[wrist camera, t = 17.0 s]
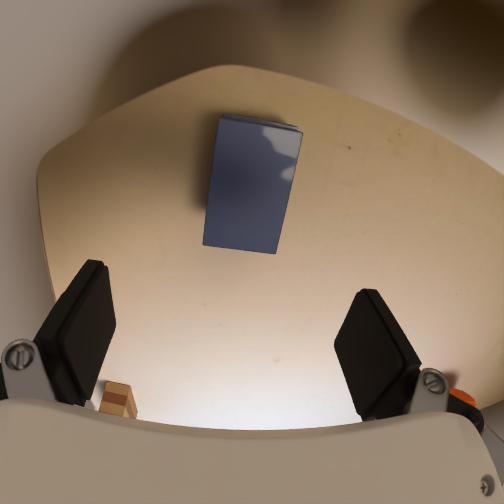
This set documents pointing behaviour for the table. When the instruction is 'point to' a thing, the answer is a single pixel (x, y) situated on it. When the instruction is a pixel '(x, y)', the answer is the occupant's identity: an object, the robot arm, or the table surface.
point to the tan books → (118, 401)
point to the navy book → (250, 185)
